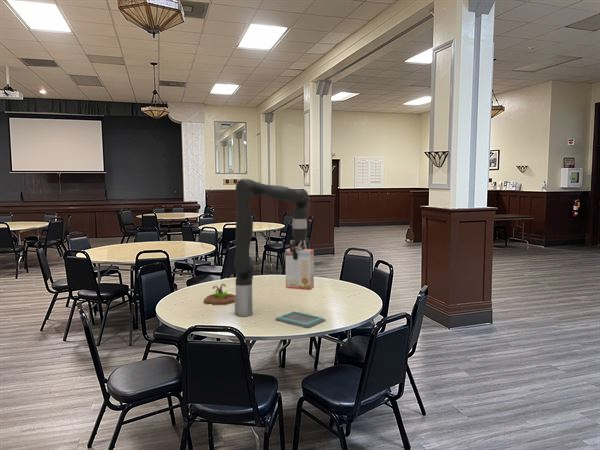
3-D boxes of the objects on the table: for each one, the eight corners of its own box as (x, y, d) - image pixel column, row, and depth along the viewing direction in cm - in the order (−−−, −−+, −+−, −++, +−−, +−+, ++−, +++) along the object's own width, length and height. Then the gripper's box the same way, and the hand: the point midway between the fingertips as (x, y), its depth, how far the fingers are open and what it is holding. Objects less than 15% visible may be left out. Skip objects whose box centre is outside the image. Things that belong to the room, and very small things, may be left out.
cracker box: (314, 288, 230) (314, 248, 228) (310, 290, 224) (310, 250, 222) (289, 285, 235) (289, 247, 233) (285, 288, 230) (285, 249, 228)
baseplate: (275, 320, 232) (275, 316, 232) (293, 313, 244) (293, 310, 244) (308, 328, 219) (308, 324, 219) (325, 321, 230) (325, 317, 230)
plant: (230, 306, 260) (230, 288, 259) (199, 304, 264) (199, 286, 263) (241, 298, 280) (241, 280, 279) (212, 296, 284) (212, 279, 283)
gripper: (296, 228, 219) (296, 261, 220) (313, 226, 230) (313, 257, 232) (285, 228, 224) (285, 259, 225) (302, 225, 235) (302, 256, 236)
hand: (299, 258), depth 228 cm, fingers closed on cracker box, 7 cm apart
